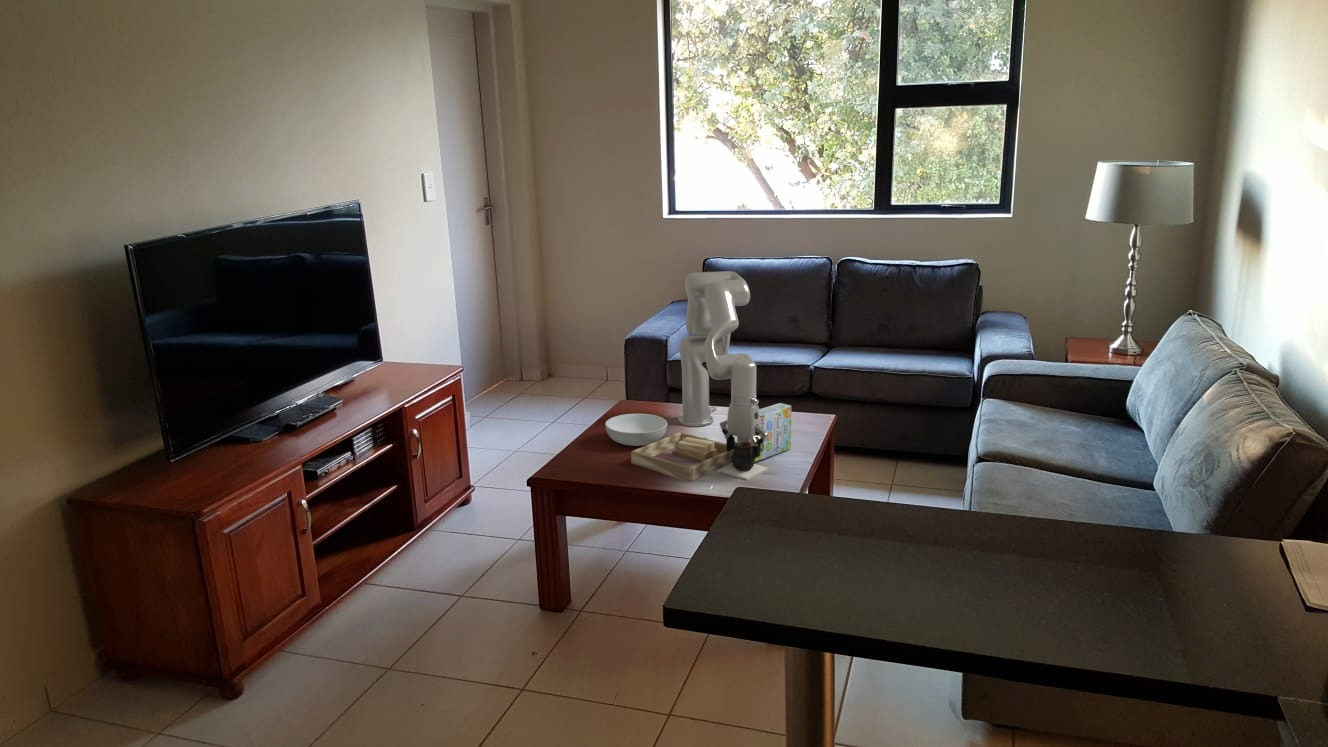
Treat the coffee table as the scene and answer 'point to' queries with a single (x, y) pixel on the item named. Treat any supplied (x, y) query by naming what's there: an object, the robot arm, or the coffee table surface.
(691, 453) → the slat oak
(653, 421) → the serving bowl
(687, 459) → the slat walnut
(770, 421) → the snack box
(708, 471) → the tray
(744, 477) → the mat
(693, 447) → the slat pine
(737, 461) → the mate gourd
